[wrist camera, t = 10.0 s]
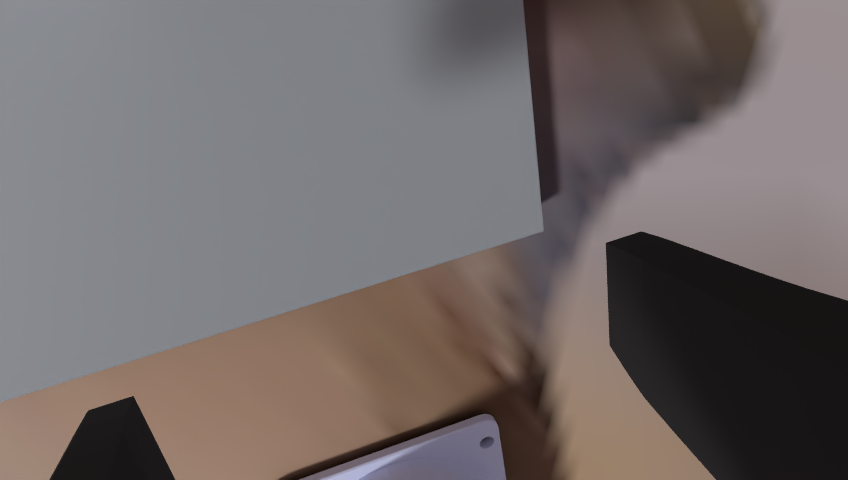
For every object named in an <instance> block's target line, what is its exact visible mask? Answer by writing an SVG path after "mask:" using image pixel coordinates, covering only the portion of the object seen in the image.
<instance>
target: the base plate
mask: <svg viewBox="0 0 848 480" xmlns="http://www.w3.org/2000/svg"><path fill="white" fill-rule="evenodd" d="M542 231H544V230H543V218H542V207H541V196H540V185H539V173H538V162H537V151H536V140H535V129H534V117H533V106H532V95H531V84H530V73H529V61H528V50H527V39H526V28H525V16H524V5H523V0H0V402H3V401H6V400H9V399H13V398H16V397H19V396H22V395H25V394H28V393H32V392H35V391H38V390H41V389H44V388H47V387H51V386H54V385H57V384H60V383H63V382H67V381H70V380H73V379H76V378H79V377H82V376H86V375H89V374H92V373H95V372H98V371H101V370H105V369H108V368H111V367H114V366H117V365H120V364H124V363H127V362H130V361H133V360H136V359H139V358H143V357H146V356H149V355H152V354H155V353H159V352H162V351H165V350H168V349H171V348H174V347H178V346H181V345H184V344H187V343H190V342H193V341H197V340H200V339H203V338H206V337H209V336H212V335H216V334H219V333H222V332H225V331H228V330H231V329H235V328H238V327H241V326H244V325H247V324H251V323H254V322H257V321H260V320H263V319H266V318H270V317H273V316H276V315H279V314H282V313H285V312H289V311H292V310H295V309H298V308H301V307H304V306H308V305H311V304H314V303H317V302H320V301H323V300H327V299H330V298H333V297H336V296H339V295H342V294H346V293H349V292H352V291H355V290H358V289H362V288H365V287H368V286H371V285H374V284H377V283H381V282H384V281H387V280H390V279H393V278H396V277H400V276H403V275H406V274H409V273H412V272H415V271H419V270H422V269H425V268H428V267H431V266H434V265H438V264H441V263H444V262H447V261H450V260H454V259H457V258H460V257H463V256H466V255H469V254H473V253H476V252H479V251H482V250H485V249H488V248H492V247H495V246H498V245H501V244H504V243H507V242H511V241H514V240H517V239H520V238H523V237H526V236H530V235H533V234H536V233H539V232H542Z"/></svg>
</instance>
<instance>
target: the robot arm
mask: <svg viewBox="0 0 848 480" xmlns="http://www.w3.org/2000/svg"><path fill="white" fill-rule="evenodd" d="M606 258H607V284H608V309H609V310H608V312H609V337H610V346H611V348H612V350H613V351H614V353H615V354H616V356H617V357H618V359H619V360H620V362H621V363H622V365H623V367H624V368H625V370H626V371H627V372H628V374H629V376H630V377H631V379H632V380H633V382H634V383H635V385H636V386H637V388H638V389H639V390H640V392H641V393H642V395H643V396H644V397H645V399H646V400H647V401H648V402H649V403H650V405H651V406H652V407H653V408H654V409H655V410H656V412H657V413H658V414H659V415H660V416H661V417H662V419H664V421H665V422H666V423H667V424H668V425H669V427H670V428H671V429H672V430H673V431H674V432H675V434H677V436H678V437H679V438H680V439H681V440H682V442H683V443H684V444H685V445H686V446H687V447H688V448H689V449H690V450H691V452H692V453H693V454H694V455H695V456H696V457H697V458H698V460H699V461H701V463H702V464H703V465H704V466H705V468H706V469H707V470H708V471H709V472H710V473H711V474H712V475H713V477H714V478H715V479H716V480H848V301H847V300H844V299H840V298H837V297H833V296H830V295H827V294H824V293H820V292H817V291H813V290H810V289H807V288H804V287H801V286H798V285H794V284H791V283H788V282H785V281H782V280H779V279H776V278H773V277H770V276H767V275H765V274H762V273H759V272H756V271H753V270H750V269H748V268H745V267H742V266H739V265H736V264H733V263H731V262H728V261H725V260H723V259H720V258H717V257H714V256H712V255H709V254H706V253H703V252H700V251H698V250H695V249H692V248H689V247H687V246H684V245H681V244H678V243H676V242H673V241H670V240H667V239H664V238H661V237H658V236H655V235H651V234H648V233H645V232H638V233H635V234H632V235H629V236H626V237H623V238H620V239H617V240H614V241H610V242H607V243H606ZM485 437H487V438H486V439H485V440H482V439H484V438H485ZM481 440H482V441H481ZM50 480H175V478H174V476H173V474H172V472H171V470H170V468H169V466H168V464H167V462H166V460H165V458H164V456H163V454H162V452H161V450H160V448H159V446H158V444H157V442H156V440H155V438H154V436H153V434H152V432H151V430H150V428H149V426H148V424H147V422H146V420H145V418H144V416H143V414H142V412H141V410H140V408H139V406H138V404H137V402H136V400H135V398H134V396H132V397H129V398H126V399H123V400H119V401H116V402H113V403H110V404H107V405H104V406H101V407H98V408H95V409H92V410H89V411H88V412H87V413H86V415H85V417H84V419H83V420H82V422H81V424H80V425H79V427H78V429H77V431H76V432H75V434H74V436H73V438H72V440H71V441H70V443H69V445H68V447H67V449H66V451H65V452H64V454H63V456H62V458H61V460H60V462H59V463H58V465H57V467H56V469H55V471H54V473H53V474H52V476H51V478H50ZM299 480H506V474H505V468H504V461H503V455H502V448H501V441H500V435H499V428H498V425H497V423H496V421H495V419H494V417H493V416H491V415H489V414H482V415H478V416H475V417H472V418H470V419H467V420H464V421H461V422H458V423H456V424H453V425H450V426H447V427H444V428H442V429H439V430H436V431H433V432H430V433H428V434H425V435H422V436H419V437H417V438H414V439H411V440H408V441H405V442H403V443H400V444H397V445H394V446H391V447H389V448H386V449H383V450H380V451H377V452H375V453H372V454H369V455H366V456H363V457H361V458H358V459H355V460H352V461H349V462H347V463H344V464H341V465H338V466H336V467H333V468H330V469H327V470H324V471H322V472H319V473H316V474H313V475H310V476H308V477H305V478H302V479H299Z"/></svg>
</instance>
